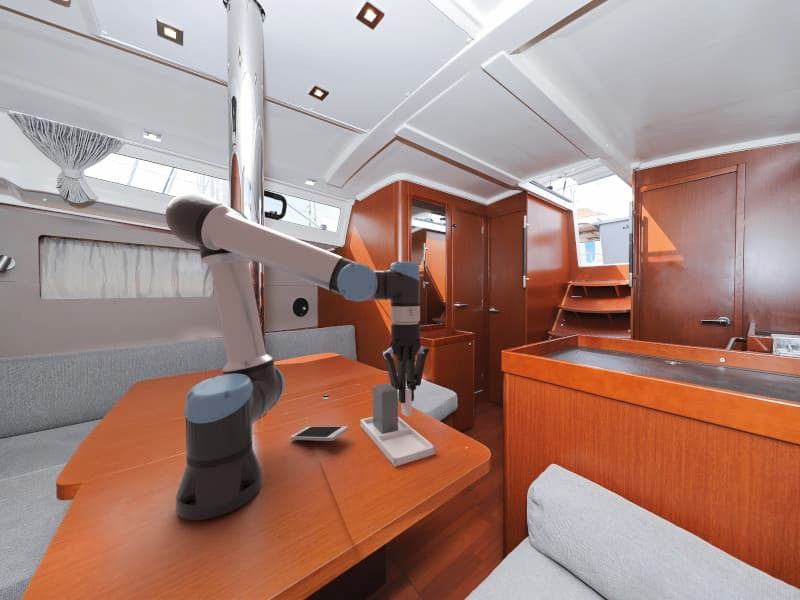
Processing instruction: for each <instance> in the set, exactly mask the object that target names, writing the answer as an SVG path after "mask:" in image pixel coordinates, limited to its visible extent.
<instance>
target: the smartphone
mask: <svg viewBox="0 0 800 600" xmlns="http://www.w3.org/2000/svg"><path fill="white" fill-rule="evenodd" d="M347 431H349V426H347V425H346V426H344V425H343V426H339V425H337V426H335V425H332V426H330V425H329V426H326V425H325V426H323V425H321V426H319V425H318V426H312V425H311V426H306V427H305V428H302V429H300V430H299V431H297V432H296V433H293V434H292V435H290V436H289V438H290V440H291V441H292V440H293V441H294V440H295V441H319V442H320V441H325V442H332V441H335V440H336V439H337V438H339V437H340V436H342V435H343V434H345V433H346V432H347Z"/></svg>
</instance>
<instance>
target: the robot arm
mask: <svg viewBox="0 0 800 600" xmlns="http://www.w3.org/2000/svg"><path fill="white" fill-rule="evenodd" d="M165 221H166V224H167V226H168V228H169V230H170V231H171V233H173V235H174V236H175V237H176V238H177V239H179V240H180V241H182V242H184V243H186V244H188V245H191V246H194V247H198V249H199V254H200V258H201V262H202V263H204V264H205V265H206V266H208V267H209V268H210V272H211V277H212V282H213V287H214V288H213V289H214V294H215V298H216V305H217V309H218V314H219V319H220V324H221V330H222V331H221V332H222V335H223V341H224V347H225V351H226V357H227V363H226V364H225V366H224V367H223V368H222V374H219V375H216V376H215V377H209V378H207V379H205V380H201V381H200V382H198V383H196V384H195V385H193V386H192V387H191V388H190V389H189V390H188V392H187V394H186V399H185V407H184V417H185V440H186V441H185V442H186V444H185V445H186V446H185V447H186V449H185V450H186V467H185V469H184V472H183V475H182V478H181V480H180V484H179V487H178V489H177V493H176V496H175V510H176V513H177V515H178V516H179V517H180V518H183V519H185V520H189V521H202V520H209V519H214V518H217V517H220V516H222V515H226V514H227V513H230V512H232V511H234V510H236V509H238V508H240V507H242V506H243V505H245V504H246V503H247V502H248V501H250V500H251V499H252V498H254V496H255V495H257V493H258V491H260V489H261V487H262V483H263V475H262V474H263V472H262V468H261V465H260V463H259V461H258V458H257V456H256V454H255V450H254V449H253V448H254V446H253V424H255V422H256V421H258V419H260V418H261V417H262V416H263V415H264V414H266V412H268V411H271V409H273V407H274V406H276V405H277V403H278V402H279V400H280V398H281V397H282V396H283V393H284V391H285V385H286V384H285V378H284V374H283V373H282V371H281V370H280V369H279V368H277V367H276V366H275V360H274V358H273V356H271V355H269V354H268V353H267V352H266V349H265V348H266V347H265V342H264V339H263V338H264V337H263V332H262V331H263V330H262V327H261V323H260V322H261V321H260V315H259V310H258V305H257V300H256V295H255V289H254V284H253V279H252V273H251V269H250V263H251V262H252V261H253V262H256V263H259V264H261V265H263V266H267V267H269V268H271V269H274V270H277V271H280V272H282V273H285V274H288V275H290V276H292V277H295V278H298V279H300V280H303V281H305V282H307V283H310V284H313V285H316V286H318V287H320V288H323V289H326V290H328V291H330V292H333V293H335V294H338V295H340V296H342V297H343V298H344V299H345V300H347V301H352V302H356V303H360V302H366V301H377V300H378V301H382V300H385V301H387V300H390V321H391V322H392V324H391V326H390V336H391V338H390V339H391V342H390V344H389V347H388V349H386V350H383V351H382V352H381V355H382V358H383V359H384V360H385V364H386V369H387V372H388V378H389V381H390V385H391V386H392V387H393V388H395V389H397V390H398V403H401V407H400V408H401V414H402V415H404V416H405V417H407V418H408V417H412V405H413V404H412V402H414V400H415V391H416V390H417V387H420V386H421V384H422V381H423V380H422V379H423V375H424V369H425V363H426V359H427V356H428V354H429V353H430V349H429V348H427V347H425V346H423V345H422V342H421V339H420V338H421V324H420V323H419V322H420V321H421V276H420V275H421V274H420V273H421V272H420V266H419V264H418V263H416V262H414V261H395V262H392V263H391V264H390V268H389V269H387V270H374V269H372V267H370V266H368V265H367V264H364V263H361V262H355V261H353V260H350V259H348V258H346V257H345V258H344V257H343V256H341V255H338V254H336V253H333V252H330V251H328V250H325V249H322V248H320V247H317V246H315V245H312V244H310V243H308V242H305V241H302V240H300V239H297V238H295V237H292V236H291V235H287V234H284V233H282V232H280V231H276V230H274V229H273V228H269V227H267V226H264V225H261V224H259V223H257V222H254V221H252V220H251V219H249V217H247V216H246V215H245V214H244V213H242V212H241V211H239V210H238V209H235V208H231V207H230V206H227V204H225V203H222V202H220V201H219V200H218V199H215V198H213V197H211V196H209V195H207V194H205V193H201V192H185V193H181V194H179V195H176V196H175V197H174V198H172V199H171V200H170V202H169V203H168V205H167V207H166V210H165ZM394 356H395V357H396V362H397V364H395V361H394ZM396 365H397V367H396Z"/></svg>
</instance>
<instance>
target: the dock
mask: <svg viewBox="0 0 800 600" xmlns="http://www.w3.org/2000/svg"><path fill="white" fill-rule="evenodd" d="M359 421H360V423H359V425H360V428H362V429H363V430H364V432H365V433H366V434H367V435H368V436H369V438H370V439H371V440H372V441H373V443H374V444H375V445H376V446H377V447H378V449H379V450H380V451H381V452H382V453H383V455H384V456H385V457H386V458H387V459H388V461H390V463H391V464H392V465H393V467H394V468H396V467H399V466H401V465H402V466H403V465H405V464H407V463H411V462H414V461H417V460H421V459H425V458H427V457H430V456H433V455H436V446H435V445H434V444H432V443H431V442H430V441H429V440H427V439H426V438H425V437H424V436H423V435H422V434H421V433H419V432H418V431H416V430H415V429H414V428H413V427H411V426H410V424H408V423H407V422H406V421H404V420H403V419H402V418H401V417H400V416H399V391H398V390H397V389H395V388H393V387H392V386H391V384H390V383H383V384H382V383H381V384H376V385H375V384H374V385H372V417H366V418H362V419H360V420H359Z"/></svg>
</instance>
